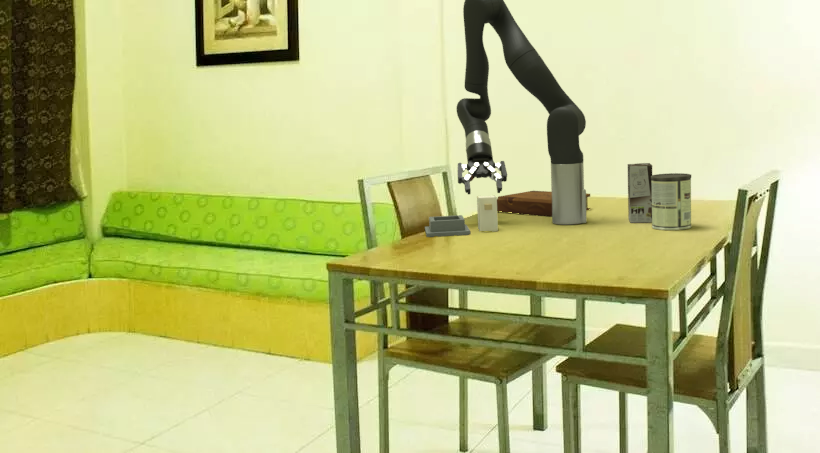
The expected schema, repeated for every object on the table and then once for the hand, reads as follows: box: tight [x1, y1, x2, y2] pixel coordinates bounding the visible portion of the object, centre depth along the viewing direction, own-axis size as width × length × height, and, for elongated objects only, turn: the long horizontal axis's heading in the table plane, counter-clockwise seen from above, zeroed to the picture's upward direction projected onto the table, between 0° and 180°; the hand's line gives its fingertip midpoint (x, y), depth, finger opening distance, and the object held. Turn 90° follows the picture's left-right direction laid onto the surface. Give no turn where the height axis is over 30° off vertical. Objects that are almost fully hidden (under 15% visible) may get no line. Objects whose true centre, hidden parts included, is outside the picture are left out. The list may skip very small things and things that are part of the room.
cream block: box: [476, 194, 499, 232], centre depth 239 cm, size 5×6×10 cm
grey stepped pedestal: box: [424, 214, 471, 238], centre depth 240 cm, size 12×13×4 cm
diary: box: [497, 190, 591, 218], centre depth 273 cm, size 23×19×6 cm
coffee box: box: [627, 162, 653, 224], centre depth 243 cm, size 9×6×16 cm
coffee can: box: [651, 172, 692, 231], centre depth 228 cm, size 10×10×14 cm
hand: (484, 192), depth 244 cm, fingers open, 8 cm apart
